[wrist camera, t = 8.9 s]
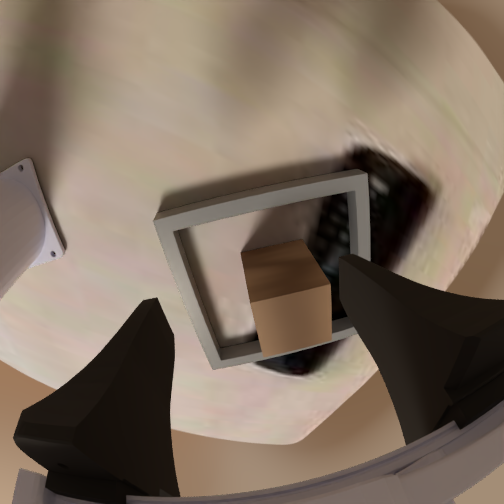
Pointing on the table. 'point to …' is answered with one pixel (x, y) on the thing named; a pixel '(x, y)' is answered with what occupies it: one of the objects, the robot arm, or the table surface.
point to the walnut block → (288, 297)
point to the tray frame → (246, 203)
